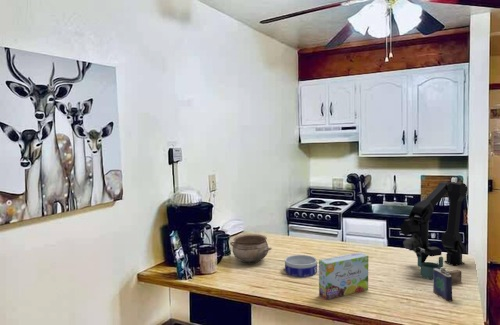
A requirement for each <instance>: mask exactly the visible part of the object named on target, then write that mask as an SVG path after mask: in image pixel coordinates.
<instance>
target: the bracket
mask: <svg viewBox="0 0 500 325" xmlns="http://www.w3.org/2000/svg"><path fill="white" fill-rule="evenodd" d="M417 266H418V267H419V268H420V269H419V271H420V273H419V274H420V277H422V278H424V279H427V280H433V269H435V268H437V269H440V268H444V257H442V256H438V263H436V262H431V261H425V262H423V263H421V257H418V258H417ZM440 270H441V269H440Z"/></svg>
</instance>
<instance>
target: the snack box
mask: <svg viewBox="0 0 500 325" xmlns="http://www.w3.org/2000/svg"><path fill="white" fill-rule="evenodd" d="M366 291H369V255H367V254H364V253H363V252H356V253H349V254H344V255H339V256H333V257H328V258H323V259H319V260H318V295H319V296H320V297H321V298H323V299H324V300H326V301H327V300H331V299H335V298H339V297H344V296H348V295H353V294H356V293H361V292H366Z"/></svg>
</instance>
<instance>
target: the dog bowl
mask: <svg viewBox="0 0 500 325" xmlns="http://www.w3.org/2000/svg"><path fill="white" fill-rule="evenodd" d="M284 270H285V274H287V275H288V276H290V277H295V278H309V277H313V276H315V275H316V274H318V260H317V258H316V257H315V256H312V255H308V254H293V255H289V256H286V257H285V259H284Z"/></svg>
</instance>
